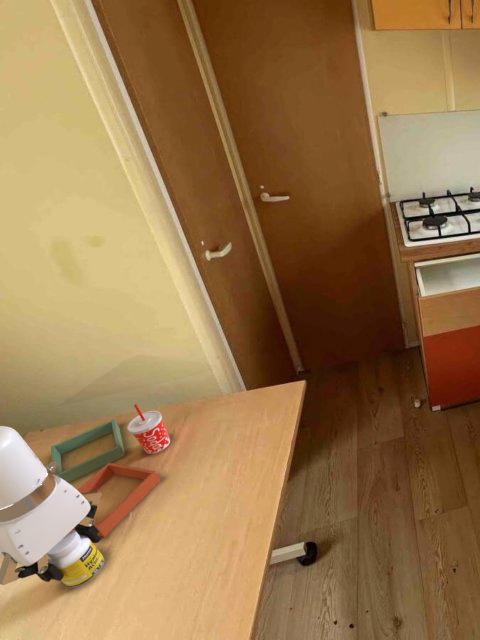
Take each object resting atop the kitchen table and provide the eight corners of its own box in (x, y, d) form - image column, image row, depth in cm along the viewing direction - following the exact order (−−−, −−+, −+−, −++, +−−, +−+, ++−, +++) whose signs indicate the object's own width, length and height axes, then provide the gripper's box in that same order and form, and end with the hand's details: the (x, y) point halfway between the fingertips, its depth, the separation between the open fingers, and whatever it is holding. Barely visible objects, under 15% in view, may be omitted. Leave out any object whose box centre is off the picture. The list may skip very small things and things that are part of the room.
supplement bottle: (100, 580, 76) (74, 550, 71) (61, 595, 74) (32, 565, 69) (110, 550, 80) (86, 520, 76) (73, 564, 78) (46, 534, 74)
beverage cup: (140, 462, 97) (114, 420, 90) (145, 443, 102) (120, 401, 95) (173, 451, 100) (150, 409, 93) (176, 432, 104) (154, 391, 98)
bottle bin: (58, 456, 98) (50, 446, 97) (120, 429, 105) (114, 418, 104) (60, 489, 91) (51, 478, 90) (126, 457, 98) (119, 446, 97)
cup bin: (55, 527, 84) (46, 517, 82) (115, 472, 95) (108, 462, 93) (106, 539, 82) (97, 528, 81) (162, 481, 93) (155, 471, 91)
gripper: (61, 445, 75) (106, 507, 83) (-74, 547, 60) (-2, 611, 68) (96, 452, 74) (138, 514, 82) (-32, 558, 59) (35, 621, 67)
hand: (74, 557), depth 75 cm, fingers closed on supplement bottle, 5 cm apart
